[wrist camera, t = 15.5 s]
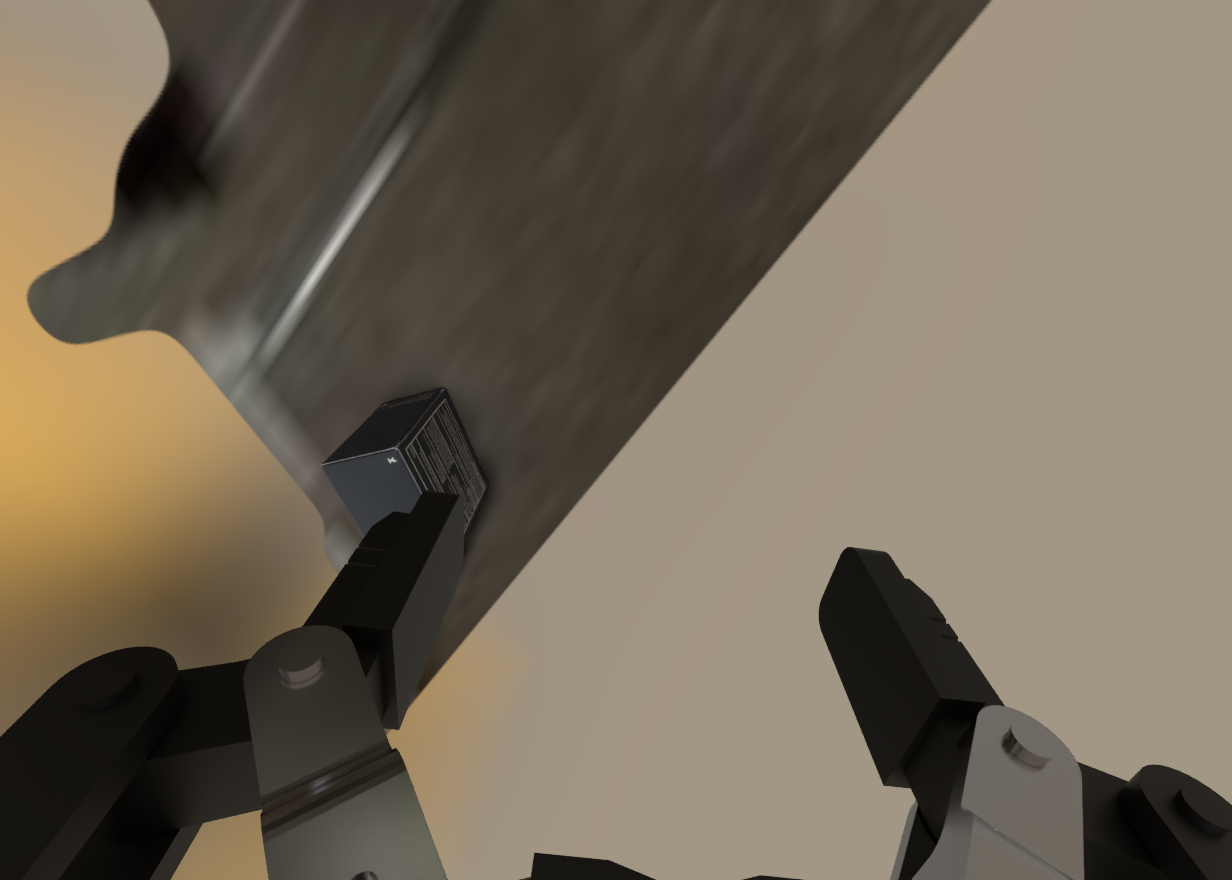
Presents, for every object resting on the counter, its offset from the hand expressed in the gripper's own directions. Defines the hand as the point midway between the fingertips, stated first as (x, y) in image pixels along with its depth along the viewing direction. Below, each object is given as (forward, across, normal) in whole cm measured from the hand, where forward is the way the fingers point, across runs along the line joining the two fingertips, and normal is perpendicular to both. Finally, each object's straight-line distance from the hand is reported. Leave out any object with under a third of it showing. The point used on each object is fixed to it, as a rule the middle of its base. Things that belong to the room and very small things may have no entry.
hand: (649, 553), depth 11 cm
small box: (+33, +15, +18) cm, 41 cm away
